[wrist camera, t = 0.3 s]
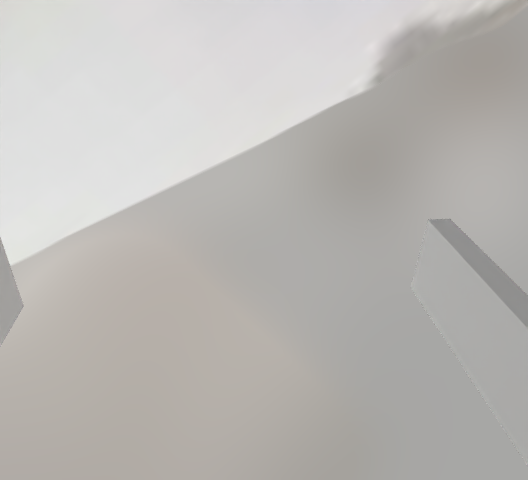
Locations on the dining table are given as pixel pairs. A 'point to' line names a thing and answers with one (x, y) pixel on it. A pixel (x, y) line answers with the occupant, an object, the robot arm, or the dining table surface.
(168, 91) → the dining table surface
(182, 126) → the dining table surface
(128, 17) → the dining table surface
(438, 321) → the robot arm
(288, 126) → the dining table surface
